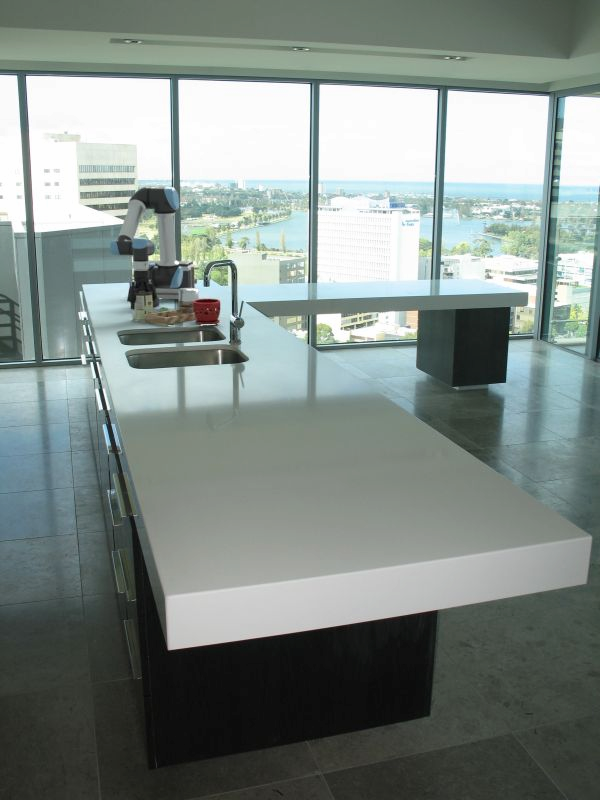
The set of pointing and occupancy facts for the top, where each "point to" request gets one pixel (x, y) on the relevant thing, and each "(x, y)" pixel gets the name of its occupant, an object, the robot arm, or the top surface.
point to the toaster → (187, 282)
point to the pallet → (168, 317)
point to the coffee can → (143, 305)
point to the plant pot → (206, 311)
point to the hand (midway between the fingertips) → (142, 314)
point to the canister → (187, 299)
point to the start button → (164, 309)
